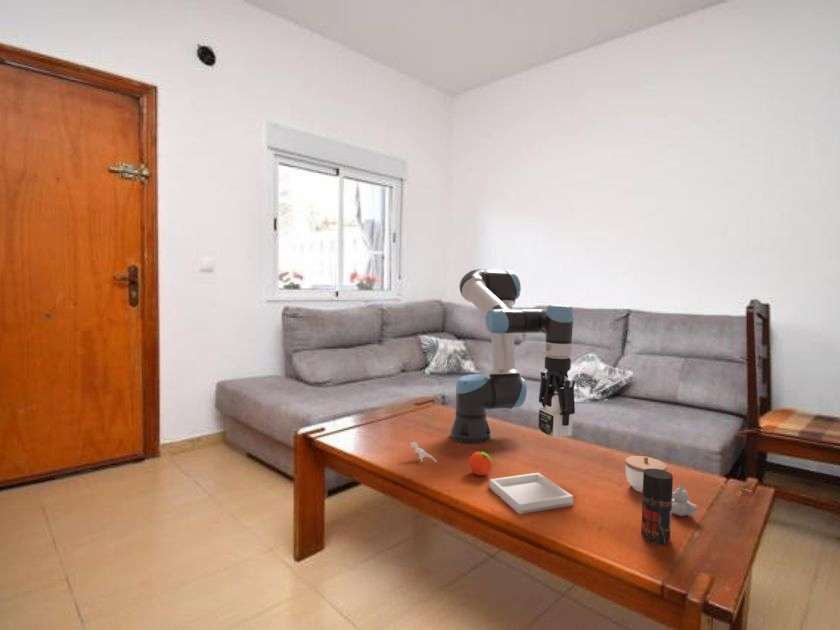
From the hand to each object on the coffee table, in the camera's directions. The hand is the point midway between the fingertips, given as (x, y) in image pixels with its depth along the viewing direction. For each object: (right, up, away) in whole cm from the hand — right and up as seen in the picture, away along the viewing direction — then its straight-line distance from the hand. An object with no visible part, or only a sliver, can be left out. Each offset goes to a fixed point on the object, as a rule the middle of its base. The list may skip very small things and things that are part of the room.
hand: (554, 431), depth 140 cm
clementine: (-22, -14, 0) cm, 26 cm away
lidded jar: (+23, -15, -8) cm, 29 cm away
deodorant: (+13, -16, -34) cm, 40 cm away
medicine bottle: (0, -1, 0) cm, 1 cm away
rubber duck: (+25, -16, -24) cm, 38 cm away
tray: (-11, -14, -14) cm, 23 cm away
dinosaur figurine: (-41, -13, +11) cm, 44 cm away
